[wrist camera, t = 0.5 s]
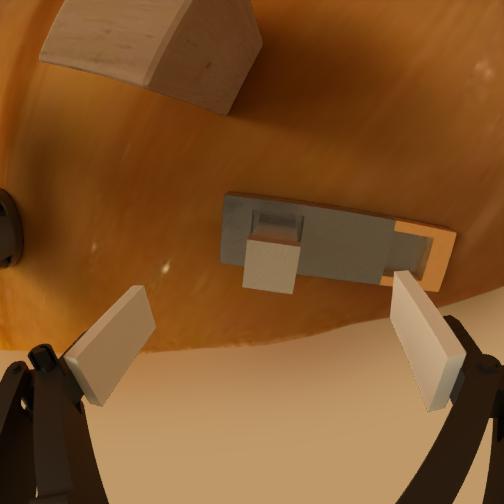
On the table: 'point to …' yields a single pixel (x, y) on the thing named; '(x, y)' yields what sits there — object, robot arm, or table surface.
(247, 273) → the grey tall block
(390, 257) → the rail
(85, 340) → the robot arm
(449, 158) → the table surface
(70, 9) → the wooden block
